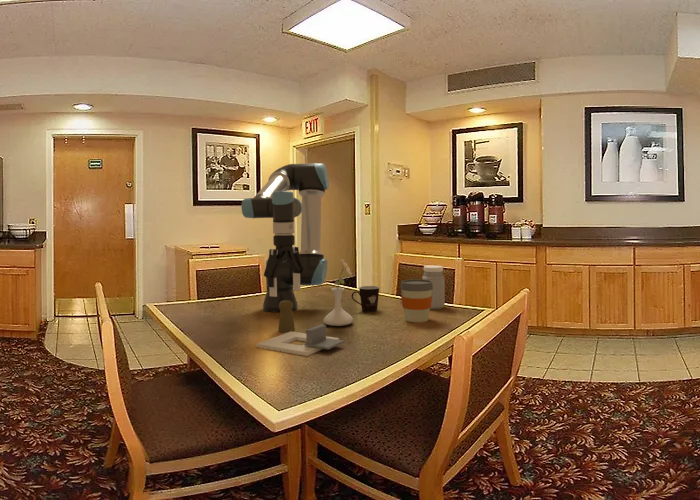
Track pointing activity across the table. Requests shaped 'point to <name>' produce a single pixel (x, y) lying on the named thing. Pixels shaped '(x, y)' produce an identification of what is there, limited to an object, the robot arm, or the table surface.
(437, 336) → the table surface
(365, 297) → the coffee mug
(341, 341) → the grey bookend
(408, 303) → the reusable coffee cup
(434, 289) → the jar
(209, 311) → the table surface
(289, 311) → the olive brown pawn
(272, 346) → the socket plate
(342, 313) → the flower in vase
